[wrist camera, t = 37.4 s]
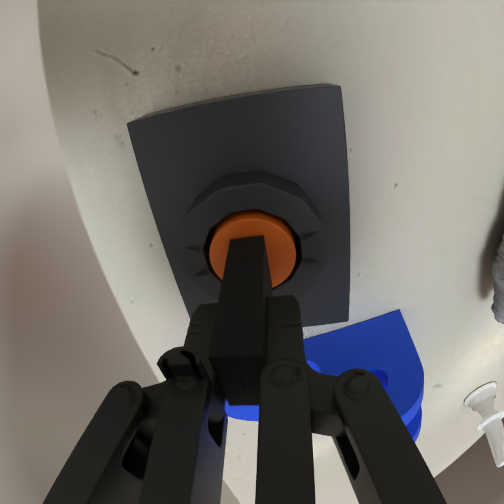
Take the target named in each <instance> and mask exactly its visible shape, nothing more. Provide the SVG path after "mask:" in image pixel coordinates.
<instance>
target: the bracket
mask: <svg viewBox="0 0 504 504" xmlns="http://www.w3.org/2000/svg"><path fill="white" fill-rule="evenodd" d="M304 350H305V358H306V361H307V363H308V364H309V366H310V367H311V368H312V369H314V370H315V371H317V372H319V373H322V374H326V375H333V376H339V375H340V374H341V373H343V372H345V371H347V370H350V369H355V368H359V369H366V370H368V371H370V372H372V373H374V374H375V375H376V376H377V378H378V379H379V380H380V382H381V384H382V385H383V387H384V389H385V391H386V392H387V394H388V396H389V398H390V399H391V401H392V403H393V405H394V406H395V408H396V410H397V412H398V413H399V415H400V417H401V419H402V421H403V422H404V424H405V426H406V428H407V429H408V431H409V433H410V435H411V437H412V439H413V440H414V442H415V441H416V439H417V437H418V435H419V432H420V428H421V419H422V409H421V403H422V399H423V389H424V372H423V367H422V364H421V361H420V359H419V356H418V354H417V351H416V348H415V346H414V343H413V341H412V338H411V336H410V333H409V331H408V328H407V326H406V324H405V321H404V319H403V317H402V314H401V312H400V310H397V311H394V312H391V313H388V314H385V315H382V316H379V317H376V318H373V319H370V320H367V321H364V322H361V323H358V324H355V325H352V326H348V327H345V328H342V329H339V330H335V331H332V332H328V333H325V334H322V335H318V336H315V337H311V338H307V339H304ZM225 412H226V414H227V416H229V417H232V418H235V419H240V420H246V421H259V405H242V406H229V404H228V402H227V400H226V403H225Z"/></svg>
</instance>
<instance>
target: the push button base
mask: <svg viewBox="0 0 504 504" xmlns="http://www.w3.org/2000/svg"><path fill="white" fill-rule="evenodd" d="M127 127H128V131H129V135H130V138H131V142H132V146H133V149H134V153H135V157H136V160H137V164H138V167H139V171H140V174H141V177H142V181H143V184H144V187H145V191H146V194H147V197H148V200H149V204H150V207H151V210H152V213H153V216H154V219H155V222H156V225H157V228H158V231H159V234H160V237H161V240H162V243H163V246H164V249H165V252H166V255H167V258H168V260H169V263H170V266H171V269H172V272H173V274H174V277H175V280H176V282H177V285H178V288H179V291H180V293H181V296H182V298H183V301H184V304H185V306H186V309H187V311H188V314H189V317H190V319H191V316H192V313H193V312H194V311H195V310H196V308H197V307H198V306H199V304H210V303H218V300H219V295H220V289H221V284H222V279H220V277H219V276H218V275H217V274H216V273H215V271H214V269H213V267H212V265H211V262H210V255H209V252H210V246H211V242H212V239H213V235H214V232H215V228H216V226H217V223H218V222H219V221H220V220H222V219H223V218H224V217H226V216H227V215H228V214H230V213H231V212H238V211H246V210H253V209H259V210H262V211H265V212H267V213H270V214H273V215H276V216H278V217H281V218H284V219H285V220H286V222H287V223H288V224H289V225H290V226H291V228H292V230H293V235H294V242H295V249H296V261H295V265H294V268H293V270H292V272H291V273H290V275H289V276H288V277H287V278H286V279H285V280H284V281H283V282H282V283H280V284H279V285H277V286H275V287H273V288H272V297H274V296H283V295H292V294H293V295H294V297H295V298H296V299H297V301H298V302H299V303H300V312H301V321H302V327H307V326H316V325H324V324H332V323H339V322H347V321H348V319H349V294H350V203H349V179H348V161H347V146H346V134H345V122H344V112H343V102H342V93H341V87H340V86H338V85H333V84H316V85H304V86H294V87H285V88H277V89H269V90H262V91H255V92H248V93H242V94H236V95H231V96H225V97H220V98H214V99H209V100H205V101H200V102H195V103H191V104H186V105H182V106H178V107H174V108H170V109H166V110H162V111H158V112H154V113H151V114H147V115H144V116H142V117H140V118H137V119H135V120H133V121H131V122H129V123H127Z"/></svg>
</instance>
